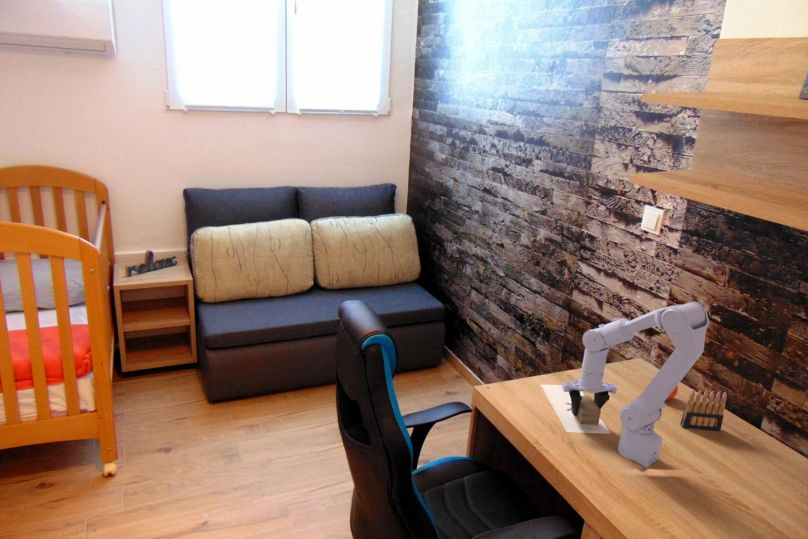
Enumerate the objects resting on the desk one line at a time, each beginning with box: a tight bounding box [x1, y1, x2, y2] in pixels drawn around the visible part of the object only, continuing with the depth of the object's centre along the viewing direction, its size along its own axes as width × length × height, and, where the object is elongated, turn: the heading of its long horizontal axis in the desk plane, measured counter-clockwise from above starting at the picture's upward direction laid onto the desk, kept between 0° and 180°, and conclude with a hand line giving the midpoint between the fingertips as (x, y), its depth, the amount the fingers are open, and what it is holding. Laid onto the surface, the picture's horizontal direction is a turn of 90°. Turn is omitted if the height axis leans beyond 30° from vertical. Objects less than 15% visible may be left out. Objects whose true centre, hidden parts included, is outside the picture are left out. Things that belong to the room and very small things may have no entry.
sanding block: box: [570, 395, 602, 426], centre depth 166 cm, size 8×5×5 cm, turn 4°
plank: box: [539, 384, 611, 435], centre depth 175 cm, size 26×12×1 cm, turn 4°
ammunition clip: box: [679, 388, 728, 432], centre depth 170 cm, size 11×2×12 cm, turn 88°
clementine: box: [665, 385, 679, 401], centre depth 187 cm, size 8×7×7 cm
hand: (584, 414), depth 167 cm, fingers closed on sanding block, 5 cm apart
